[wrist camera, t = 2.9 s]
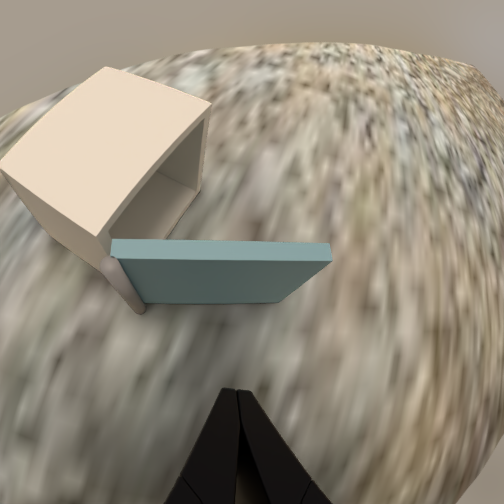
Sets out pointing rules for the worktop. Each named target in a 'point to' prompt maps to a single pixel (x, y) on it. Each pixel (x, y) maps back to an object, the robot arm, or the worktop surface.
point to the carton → (111, 162)
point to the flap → (210, 270)
